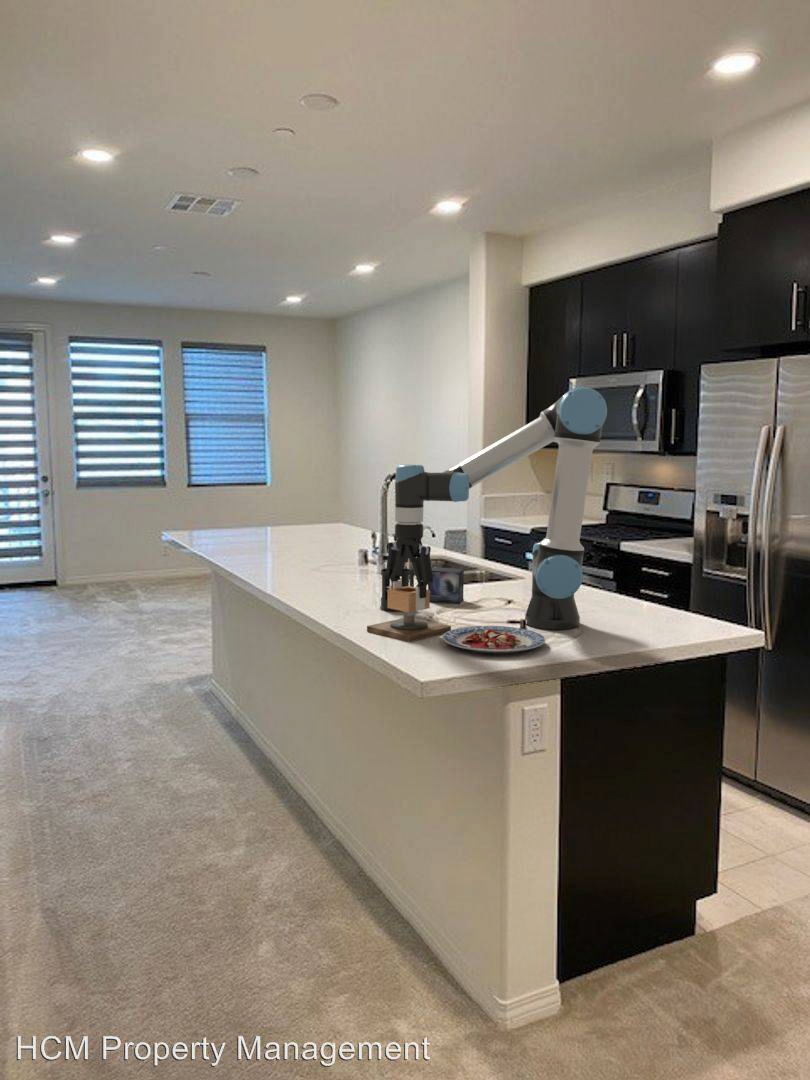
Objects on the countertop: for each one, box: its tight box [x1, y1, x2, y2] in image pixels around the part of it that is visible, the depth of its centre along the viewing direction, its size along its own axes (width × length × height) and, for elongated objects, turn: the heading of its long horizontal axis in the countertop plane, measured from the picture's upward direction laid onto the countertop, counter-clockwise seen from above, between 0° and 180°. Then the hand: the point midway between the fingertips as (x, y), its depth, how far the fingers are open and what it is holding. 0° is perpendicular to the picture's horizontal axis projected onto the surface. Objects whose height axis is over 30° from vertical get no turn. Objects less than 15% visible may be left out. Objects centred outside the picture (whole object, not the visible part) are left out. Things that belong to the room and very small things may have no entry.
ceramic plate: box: [442, 625, 546, 655], centre depth 203 cm, size 26×26×3 cm
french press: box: [379, 533, 415, 613], centre depth 246 cm, size 12×9×23 cm
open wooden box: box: [387, 585, 431, 612], centre depth 216 cm, size 8×8×5 cm
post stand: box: [366, 611, 452, 643], centre depth 216 cm, size 16×16×8 cm
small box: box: [427, 566, 465, 605], centre depth 258 cm, size 11×6×10 cm, turn 71°
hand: (408, 607), depth 216 cm, fingers closed on open wooden box, 8 cm apart
